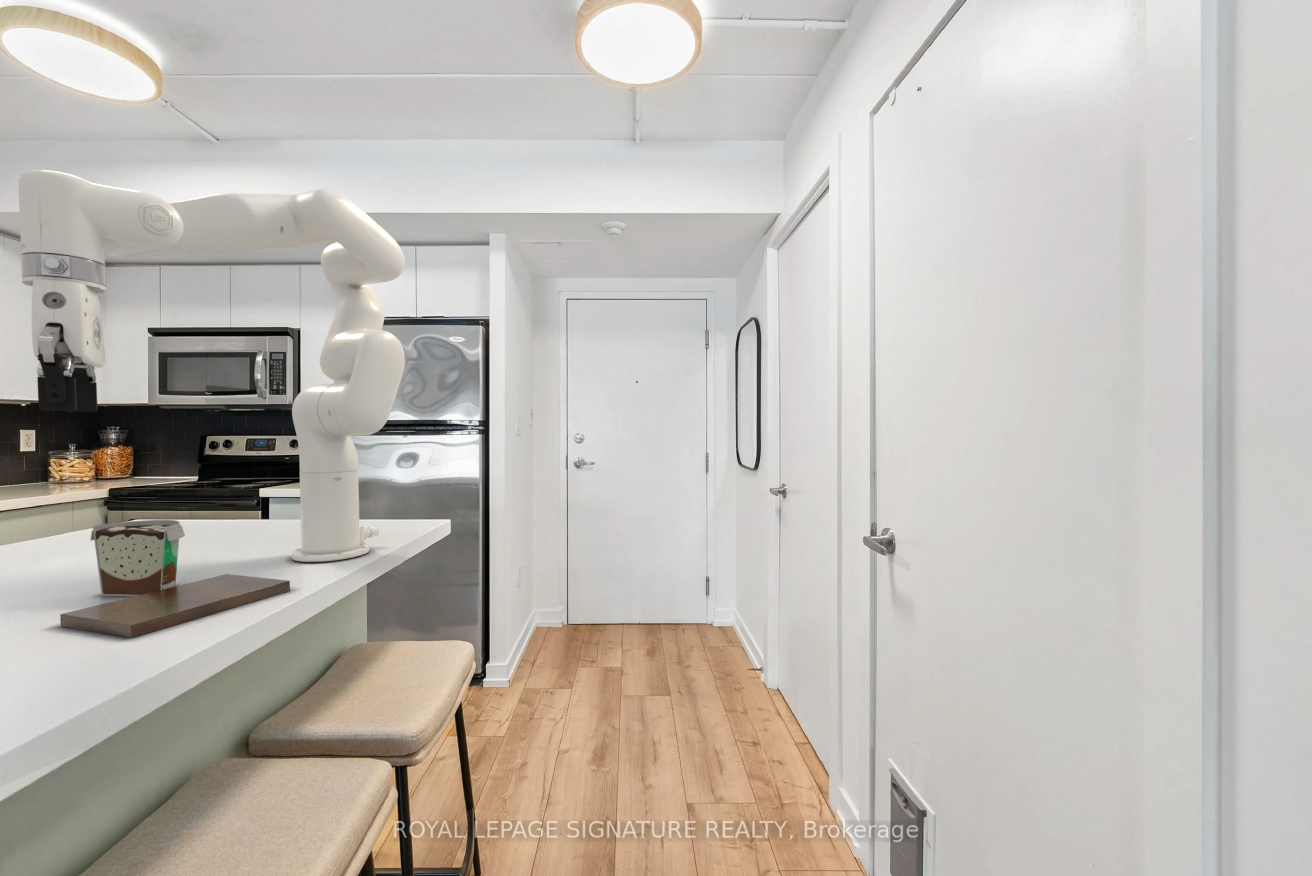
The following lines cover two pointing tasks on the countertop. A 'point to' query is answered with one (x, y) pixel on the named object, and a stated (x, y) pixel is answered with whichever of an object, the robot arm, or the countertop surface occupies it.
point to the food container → (137, 556)
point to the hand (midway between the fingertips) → (70, 411)
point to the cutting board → (172, 605)
